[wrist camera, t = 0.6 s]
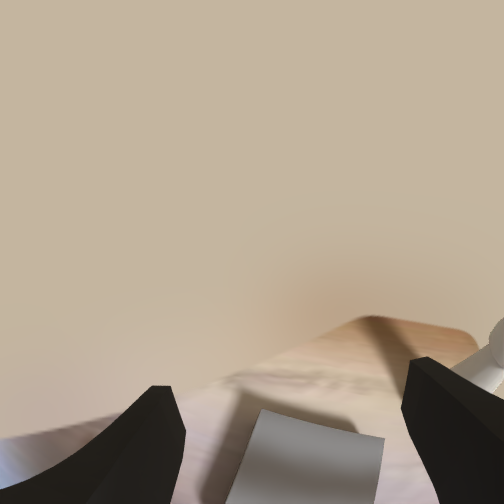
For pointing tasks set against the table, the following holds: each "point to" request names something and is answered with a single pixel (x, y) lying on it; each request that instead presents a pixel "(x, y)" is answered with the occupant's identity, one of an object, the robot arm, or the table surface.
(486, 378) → the salt shaker
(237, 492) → the gray plinth
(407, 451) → the table surface
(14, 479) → the table surface
